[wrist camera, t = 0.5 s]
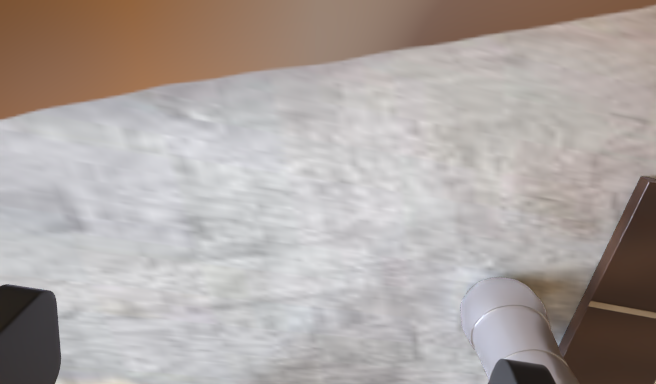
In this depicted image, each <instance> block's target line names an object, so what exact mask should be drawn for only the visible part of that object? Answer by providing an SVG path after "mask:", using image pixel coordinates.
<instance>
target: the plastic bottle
mask: <svg viewBox="0 0 656 384" xmlns="http://www.w3.org/2000/svg"><path fill="white" fill-rule="evenodd" d="M460 311H461V325H462V328H463V331H464V333H465V335H466V337H467V338H468V340H469V342H470V344H471V345H472V347H473V348H474V350H475V351H476V353H477V355H478V357H479V359H480V361H481V364H482V366H483V368H484V370H485V372H486V374H487V377H488V380H490V377H491V374H492V372H493V369H494V367H495V364H496V363H497V361H498V360H500V359H509V360H516V361H522V362H529V363H535V364H542V365H544V366H546V367H547V368H548V370H549V371H550V373H551V375H552V377H553V379H554V381H555V383H556V384H579V382H578V381H577V379H576V377H575V376H574V374H573V373H572V371H571V369H570V368H569V367H568V365H567V363H566V362H565V360H564V358H563V357H562V355H561V352H560V350H559V348H558V345H557V343H556V341H555V338H554V336H553V334H552V331H551V328H550V323H549V319H548V316H547V313H546V310H545V307H544V305H543V303H542V301H541V300H540V299H539V298H538V297H537V296H536V294H535V293H534V292H533V291H532V290H531V289H530V288H529V287H528V286H527V285H525V284H524V283H522V282H520V281H517V280H514V279H510V278H504V277H494V278H488V279H485V280H482V281H480V282H478V283H477V284H475V285H474V286H473V287H472V288H471V289H470V290H469V291H468V292H467V293H466V295H465V296H464V298H463V300H462V302H461V307H460Z"/></svg>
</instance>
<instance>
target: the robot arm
mask: <svg viewBox="0 0 656 384" xmlns="http://www.w3.org/2000/svg"><path fill="white" fill-rule="evenodd" d="M60 364H61V352H60V340H59V327H58V315H57V303H56V298H55V295H54V293H53V292H51V291H48V290H42V289H35V288H29V287H22V286H16V285H9V284H6V285H2V286H0V384H55V382H56V379H57V377H58V373H59V369H60ZM488 384H556V383H555V381H554V379H553V377H552V375H551V373H550V371H549V370H548V368H547V367H546V366H544V365H542V364H535V363H529V362H522V361H516V360H509V359H500V360H498V361H497V363H496V364H495V367H494V369H493V372H492V374H491V377H490V380H489V383H488Z"/></svg>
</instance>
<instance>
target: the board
mask: <svg viewBox="0 0 656 384" xmlns="http://www.w3.org/2000/svg"><path fill="white" fill-rule="evenodd" d="M558 348H559V350H560V352H561V355H562V357H563V358H564V360H565V362H566V363H567V365H568V367H569V368H570V369H571V371H572V373H573V374H574V376H575V377H576V379H577V381H578V382H579V384H656V179H653V178H648V177H643V176H642V177H640V179H639V181H638V183H637V186H636V188H635V190H634V192H633V194H632V196H631V198H630V200H629V202H628V204H627V206H626V208H625V210H624V212H623V214H622V217H621V219H620V221H619V223H618V225H617V227H616V229H615V231H614V233H613V235H612V237H611V239H610V241H609V243H608V245H607V248H606V250H605V252H604V254H603V256H602V258H601V260H600V262H599V264H598V266H597V268H596V270H595V272H594V274H593V276H592V279H591V281H590V283H589V285H588V287H587V289H586V291H585V293H584V295H583V297H582V299H581V301H580V303H579V305H578V307H577V310H576V312H575V314H574V316H573V318H572V320H571V322H570V324H569V326H568V328H567V330H566V332H565V334H564V336H563V338H562V341H561V343H560V345H559V347H558Z"/></svg>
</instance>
